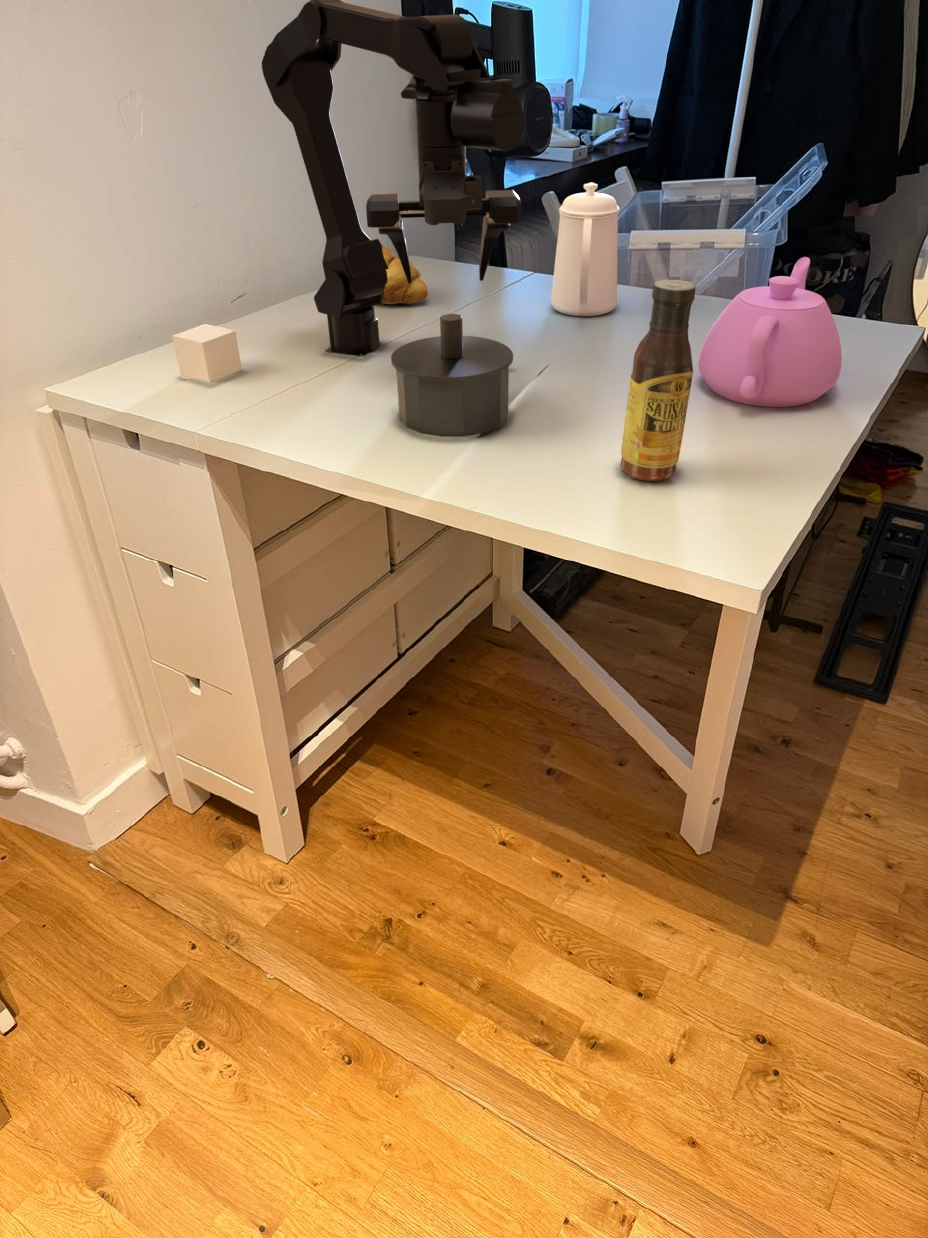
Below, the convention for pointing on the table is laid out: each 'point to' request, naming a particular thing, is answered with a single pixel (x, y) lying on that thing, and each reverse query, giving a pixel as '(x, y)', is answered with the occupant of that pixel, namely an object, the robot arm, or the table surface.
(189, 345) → the beige cube
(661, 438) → the sauce bottle
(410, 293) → the bread roll
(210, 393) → the table surface
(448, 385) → the pot
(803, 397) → the teapot
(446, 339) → the lid
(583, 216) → the coffeepot
